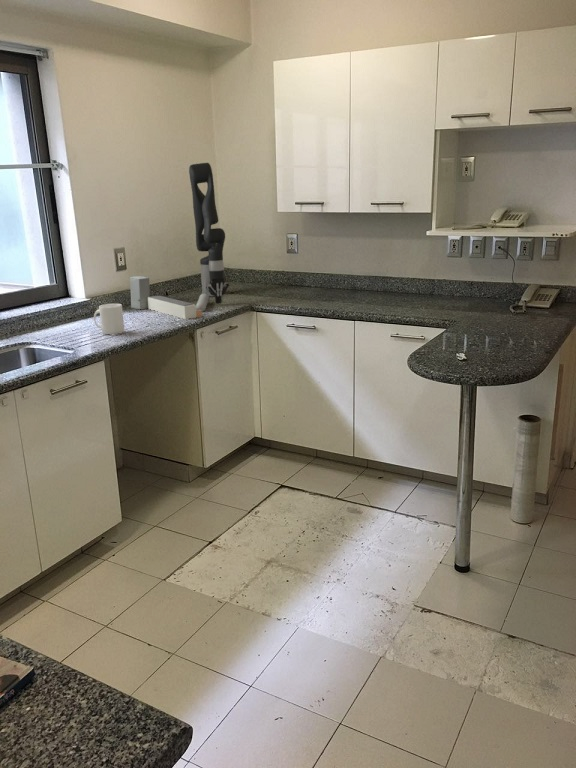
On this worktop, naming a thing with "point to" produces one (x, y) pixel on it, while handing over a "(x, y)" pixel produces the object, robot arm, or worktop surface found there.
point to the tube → (202, 302)
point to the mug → (110, 318)
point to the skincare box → (139, 292)
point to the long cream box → (173, 307)
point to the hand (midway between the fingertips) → (218, 303)
